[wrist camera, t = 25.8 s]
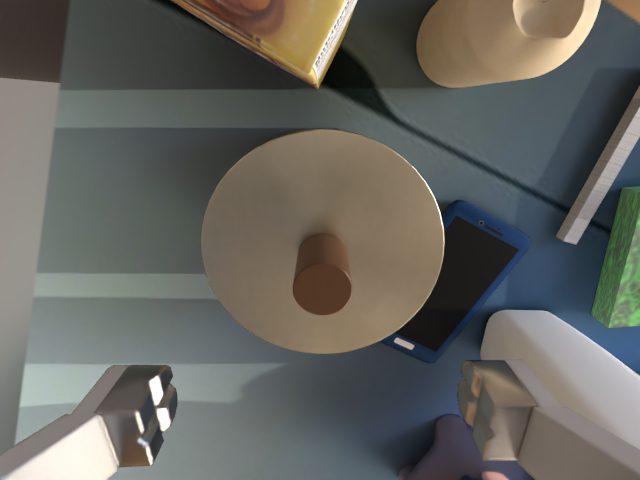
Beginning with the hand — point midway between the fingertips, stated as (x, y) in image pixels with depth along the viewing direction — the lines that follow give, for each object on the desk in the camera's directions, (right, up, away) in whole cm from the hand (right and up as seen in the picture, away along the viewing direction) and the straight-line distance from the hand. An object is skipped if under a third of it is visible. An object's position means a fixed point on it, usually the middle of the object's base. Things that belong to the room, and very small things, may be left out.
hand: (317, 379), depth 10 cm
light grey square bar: (+21, +10, +16) cm, 28 cm away
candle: (+9, +17, +13) cm, 23 cm away
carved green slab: (+29, +3, +18) cm, 34 cm away
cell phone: (+10, 0, +19) cm, 22 cm away
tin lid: (0, +3, +9) cm, 9 cm away
